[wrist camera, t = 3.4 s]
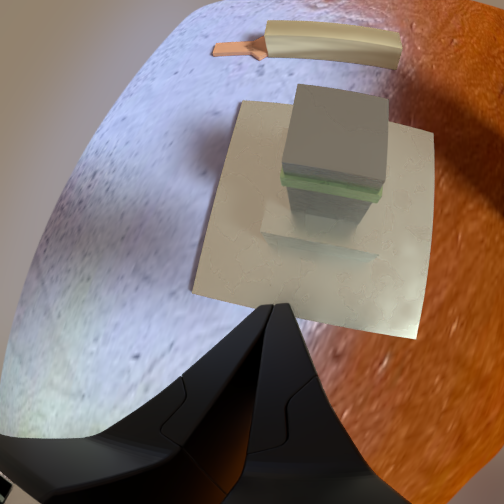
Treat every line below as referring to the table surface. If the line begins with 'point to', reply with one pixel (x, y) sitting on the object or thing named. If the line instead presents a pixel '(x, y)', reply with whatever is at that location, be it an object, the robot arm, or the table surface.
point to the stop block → (333, 42)
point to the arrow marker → (242, 48)
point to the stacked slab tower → (323, 213)
